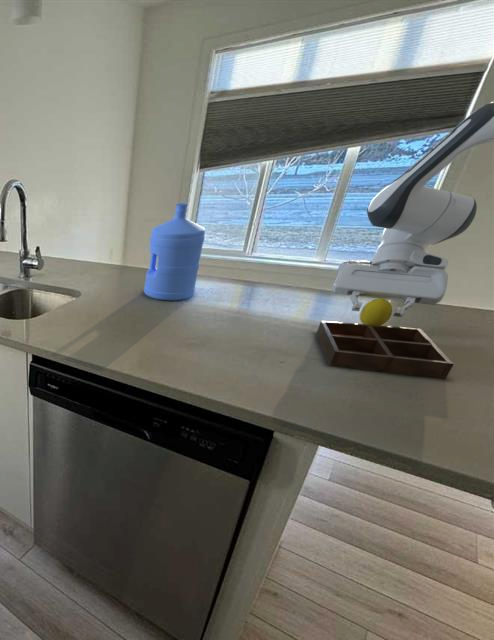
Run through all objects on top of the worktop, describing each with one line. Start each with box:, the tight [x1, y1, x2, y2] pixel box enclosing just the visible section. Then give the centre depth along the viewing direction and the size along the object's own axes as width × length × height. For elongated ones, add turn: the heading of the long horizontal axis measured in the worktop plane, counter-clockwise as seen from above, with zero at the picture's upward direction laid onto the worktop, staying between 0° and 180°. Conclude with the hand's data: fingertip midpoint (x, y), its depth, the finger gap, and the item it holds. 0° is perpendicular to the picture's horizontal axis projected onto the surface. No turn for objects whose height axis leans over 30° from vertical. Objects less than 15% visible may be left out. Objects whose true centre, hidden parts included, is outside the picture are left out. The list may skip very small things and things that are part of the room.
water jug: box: [143, 202, 206, 302], centre depth 129 cm, size 16×16×28 cm
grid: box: [315, 320, 455, 380], centre depth 90 cm, size 18×18×4 cm
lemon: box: [359, 298, 393, 326], centre depth 100 cm, size 6×6×8 cm
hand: (376, 312), depth 100 cm, fingers open, 6 cm apart
